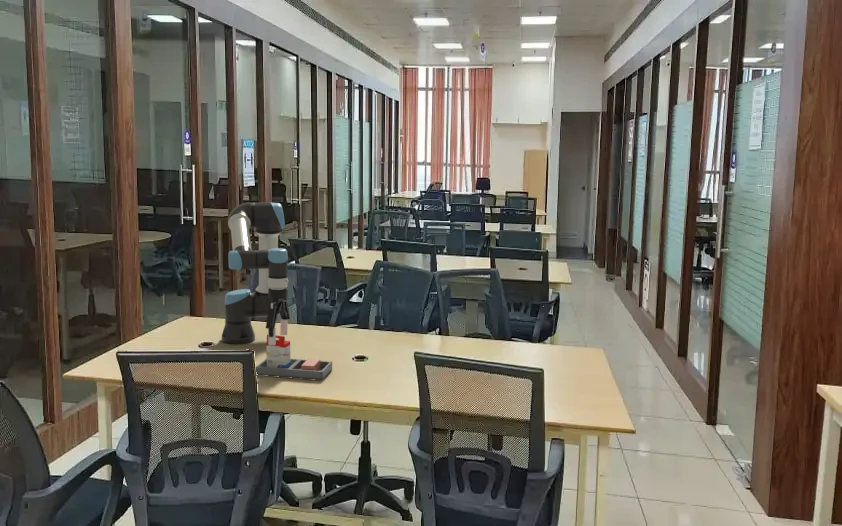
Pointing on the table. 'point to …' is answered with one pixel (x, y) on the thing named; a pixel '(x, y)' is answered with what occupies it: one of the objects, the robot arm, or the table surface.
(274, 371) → the caddy
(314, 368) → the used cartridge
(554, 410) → the table surface
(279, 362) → the ink box
